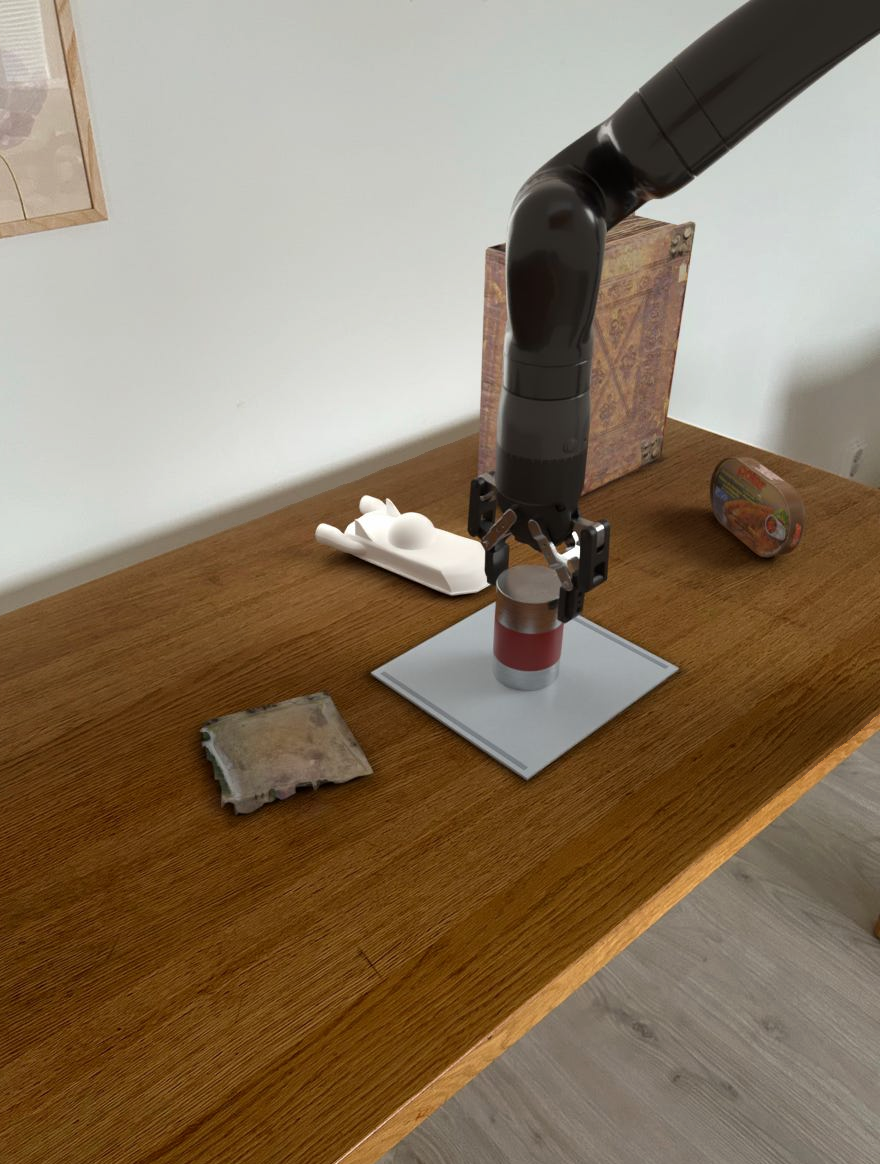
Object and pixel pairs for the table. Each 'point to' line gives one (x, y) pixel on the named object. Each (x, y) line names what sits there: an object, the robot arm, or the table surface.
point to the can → (527, 628)
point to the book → (609, 346)
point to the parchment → (281, 750)
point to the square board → (515, 717)
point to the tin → (757, 506)
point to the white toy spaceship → (410, 548)
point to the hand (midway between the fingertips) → (531, 599)
